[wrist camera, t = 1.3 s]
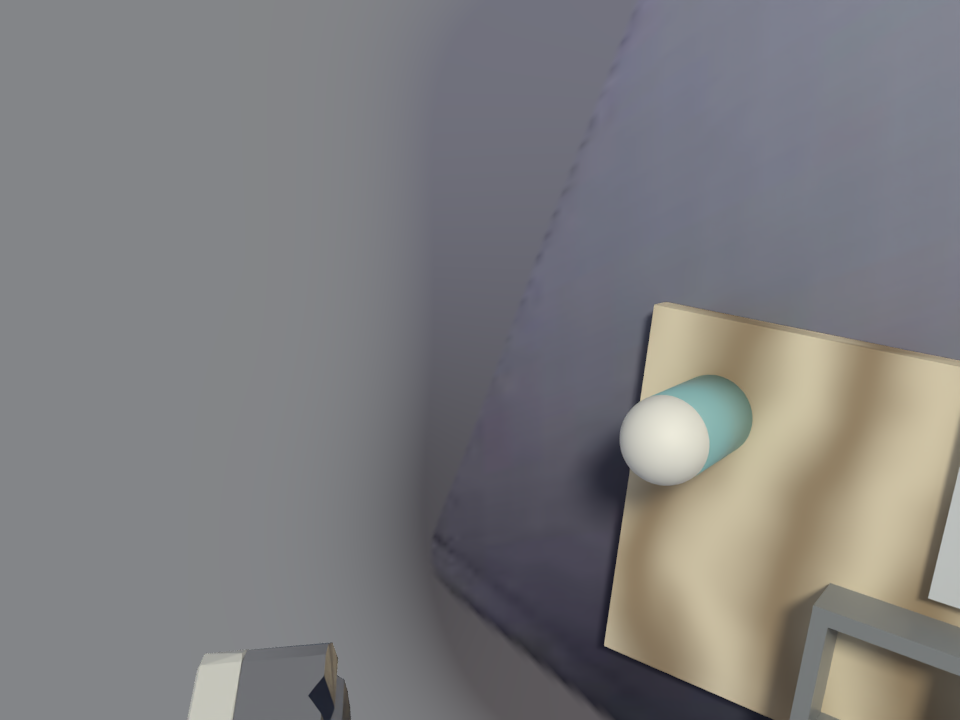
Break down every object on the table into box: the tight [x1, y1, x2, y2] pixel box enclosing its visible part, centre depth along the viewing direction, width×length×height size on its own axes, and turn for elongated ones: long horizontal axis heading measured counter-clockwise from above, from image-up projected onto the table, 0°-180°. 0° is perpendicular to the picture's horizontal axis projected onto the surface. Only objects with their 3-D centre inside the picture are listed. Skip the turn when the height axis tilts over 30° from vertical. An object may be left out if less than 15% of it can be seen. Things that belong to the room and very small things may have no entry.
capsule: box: [620, 375, 753, 486], centre depth 44 cm, size 4×4×8 cm
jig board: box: [604, 302, 960, 720], centre depth 46 cm, size 20×20×2 cm
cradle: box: [790, 583, 960, 720], centre depth 42 cm, size 8×8×3 cm
